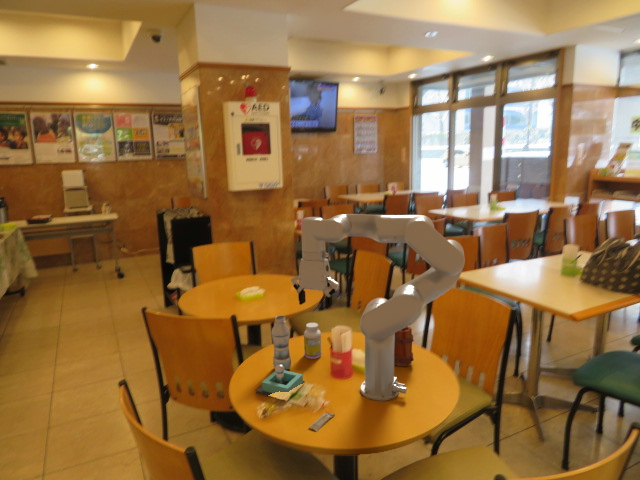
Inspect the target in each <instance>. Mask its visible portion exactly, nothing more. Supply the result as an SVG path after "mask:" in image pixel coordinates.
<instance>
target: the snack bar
mask: <svg viewBox="0 0 640 480" xmlns="http://www.w3.org/2000/svg"><path fill="white" fill-rule="evenodd" d="M334 416H335V413H331V412H330V413H329V412H327V410H326V411H325V412H323V414H322V415H321V416H320V417H318V419H317V420H315V421H314V423H312V424H310V425H309V427H308V428H309V429H311V431H313V432H314V431H315V432H316V433H317V432H318V431H319V430H320V429H322V427H323V426H325V425H326V424H327V422H328V421H330V420H332V418H333V417H334Z"/></svg>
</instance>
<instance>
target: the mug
mask: <svg viewBox="0 0 640 480" xmlns="http://www.w3.org/2000/svg"><path fill="white" fill-rule="evenodd" d="M412 330H413V329H412V328H411V326H407V327H406V328H404V329H402V330H400V331H398V332H396V333H395V348H394V366H397V367H408V366H411V364H412V363H413V361H414V360H415V359H414V352H413V342H414V335H413V334H412Z"/></svg>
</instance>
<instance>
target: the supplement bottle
mask: <svg viewBox="0 0 640 480" xmlns="http://www.w3.org/2000/svg"><path fill="white" fill-rule="evenodd" d="M305 328H306V329H305V331H304V332H303V345H304V346H303V348H304V350H303V351H304V357H306V358H307V359H311V360H313V359H314V360H315V359H319V358H320V357H322V332H321V330H320V329H319V324H318V323H317V322H308V323H306V325H305Z"/></svg>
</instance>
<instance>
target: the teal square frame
mask: <svg viewBox="0 0 640 480" xmlns="http://www.w3.org/2000/svg"><path fill="white" fill-rule="evenodd" d="M303 375H304V374H302V373H298V372H294V371H289V370H284V381H287V382H289V383H288V384H287V385H283V384H279V383H276V382H277V380H276V372H275V370H274V371H273V372H272V373H270V375H269V376H267V377H266V378H265V379H263V380H262V381H261V385H262V390H263V391H266V392H270V393H275V392H279V391H280V392H289V391H290V390H292V389H293V388H295V387H297V386H298V385H300V384H302V383H303V381H304V376H303Z"/></svg>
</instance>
